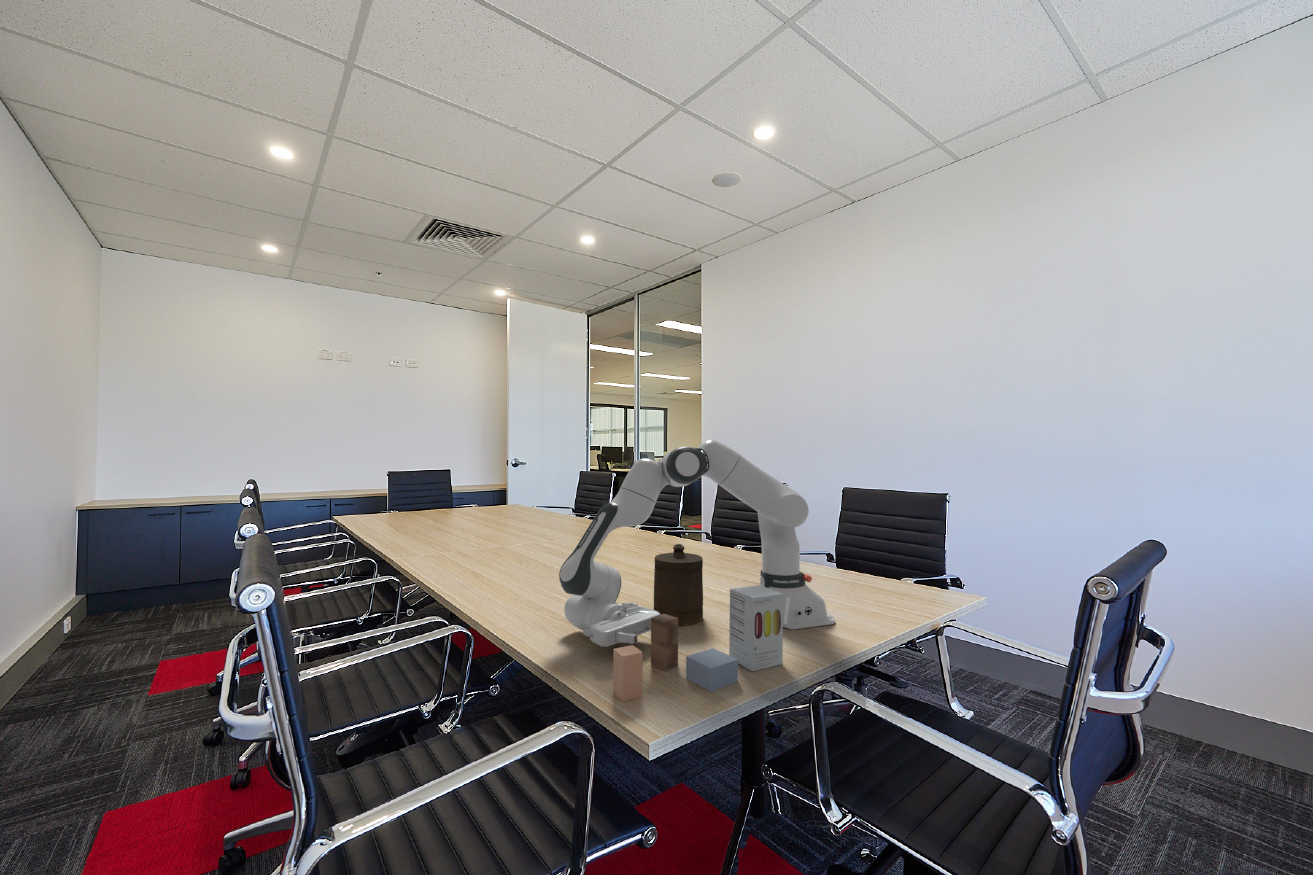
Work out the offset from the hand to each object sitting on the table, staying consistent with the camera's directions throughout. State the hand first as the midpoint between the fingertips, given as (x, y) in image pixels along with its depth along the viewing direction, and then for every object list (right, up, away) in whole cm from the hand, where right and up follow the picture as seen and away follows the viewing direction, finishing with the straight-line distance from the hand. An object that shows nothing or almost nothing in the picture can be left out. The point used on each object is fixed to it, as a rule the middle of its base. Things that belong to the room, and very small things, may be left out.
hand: (648, 634), depth 125 cm
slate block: (+14, -6, -11) cm, 19 cm away
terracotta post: (-4, -6, -18) cm, 19 cm away
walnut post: (+4, -6, -4) cm, 8 cm away
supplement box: (+26, -6, -1) cm, 26 cm away
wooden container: (+8, -7, +30) cm, 32 cm away
